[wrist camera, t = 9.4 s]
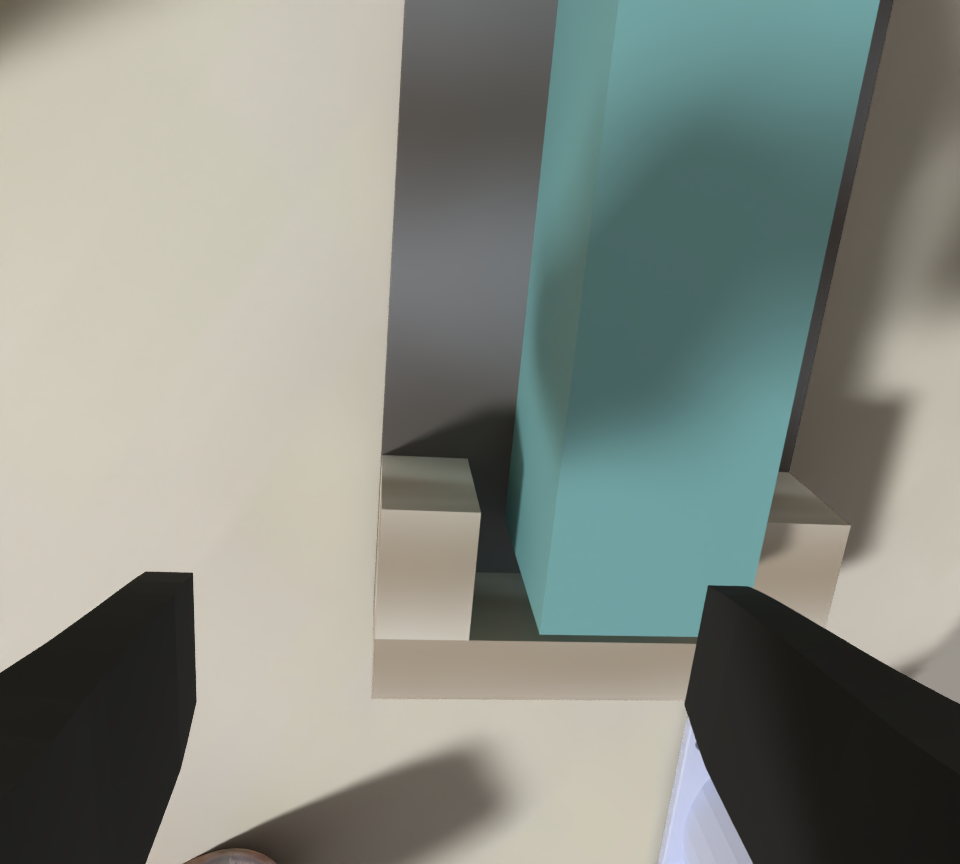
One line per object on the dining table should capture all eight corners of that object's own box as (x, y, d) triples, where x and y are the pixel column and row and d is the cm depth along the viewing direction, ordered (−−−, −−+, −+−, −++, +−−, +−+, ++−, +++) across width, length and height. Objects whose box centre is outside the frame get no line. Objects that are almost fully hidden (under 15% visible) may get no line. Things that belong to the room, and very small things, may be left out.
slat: (663, 524, 21) (742, 637, 16) (504, 519, 21) (539, 634, 16) (796, -251, 16) (968, -408, 11) (587, -284, 15) (676, -461, 11)
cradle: (739, 609, 23) (806, 701, 20) (373, 602, 22) (371, 698, 18) (953, -397, 16) (1124, -554, 12) (429, -494, 15) (445, -701, 11)
